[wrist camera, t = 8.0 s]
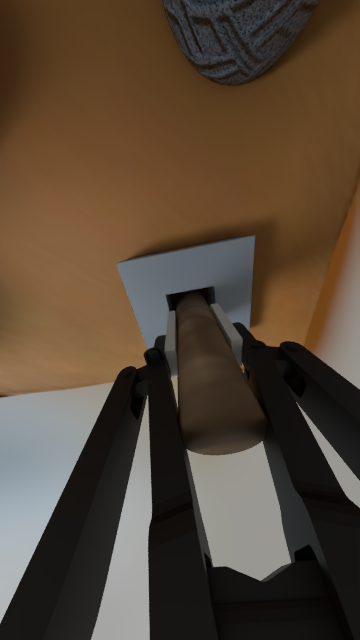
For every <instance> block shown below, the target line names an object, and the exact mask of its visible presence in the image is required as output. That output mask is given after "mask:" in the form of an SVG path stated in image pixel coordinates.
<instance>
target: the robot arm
mask: <svg viewBox="0 0 360 640" xmlns="http://www.w3.org/2000/svg"><path fill="white" fill-rule="evenodd" d="M211 312H212V314H213V316H214V318H215V319H216V321H217V323H218V325H219V327H220V329H221V331H222V333H223V335H224V337H225V339H226V341H227V342H228V344H229V346H230V348H231V350H232V352H233V354H234V356H235V358H236V360H237V362H238V364H239V366H240V367H242V363H243V365H244V375H245V377H246V379H247V381H248V383H249V385H250V387H251V389H252V390H253V392H254V394H255V396H256V398H257V400H258V402H259V404H260V406H261V408H262V410H263V412H264V413H265V415H266V417H267V419H268V423H267V428H266V433H265V437H264V440H263V444H264V448H265V452H266V455H267V459H268V463H269V466H270V470H271V474H272V478H273V481H274V486H275V489H276V493H277V496H278V501H279V505H280V509H281V517H282V524H283V530H284V534H285V539H286V543H287V547H288V551H289V554H290V558H291V563H290V564H287V565H284V566H281V567H280V568H279V569H277V570H276V571H274V572H273V573H271V574H270V575H269V576H267V577H266V578H264V579H263V580H262V581H259V580H257V579H255V578H252V577H250V576H247V575H245V574H243V573H240V572H238V571H236V570H233V569H231V568H229V567H213V564H212V559H211V555H210V550H209V546H208V541H207V537H206V533H205V529H204V525H203V521H202V517H201V513H200V508H199V504H198V499H197V495H196V490H195V485H194V481H193V476H192V472H191V467H190V462H189V458H188V453H187V449H186V447H185V444H184V442H183V439H182V436H181V433H180V429H179V421H178V407H177V403H176V398H175V394H174V389H173V385H172V381H171V375H172V378H174V377H178V370H177V318H176V313H175V311H170V312H168V319H167V330H166V335H161V336H158V337H157V338H156V339H155V344H154V347H152V348H150V349H148V350H147V351H146V352H145V353H144V358H145V360H146V363H147V365H145V366H143V367H141V368H139V369H136V368H135V367H133V366H129V367H126V368H124V369H123V370H122V371H120V373H119V374H118V376H117V378H116V380H115V382H114V385H113V387H112V389H111V391H110V393H109V395H108V397H107V399H106V402H105V404H104V406H103V408H102V410H101V412H100V415H99V416H98V418H97V421H96V423H95V425H94V427H93V429H92V431H91V433H90V435H89V437H88V440H87V442H86V444H85V446H84V448H83V450H82V452H81V455H80V456H79V459H78V461H77V463H76V465H75V467H74V469H73V471H72V473H71V475H70V478H69V480H68V482H67V484H66V486H65V488H64V490H63V492H62V495H61V497H60V499H59V501H58V503H57V505H56V507H55V509H54V512H53V513H52V516H51V518H50V520H49V522H48V524H47V526H46V529H45V530H44V533H43V535H42V537H41V539H40V541H39V543H38V545H37V547H36V549H35V552H34V554H33V556H32V558H31V560H30V562H29V565H28V567H27V568H26V571H25V573H24V575H23V577H22V579H21V581H20V583H19V585H18V587H17V590H16V592H15V594H14V596H13V598H12V600H11V602H10V604H9V606H8V609H7V611H6V613H5V615H4V617H3V619H2V621H1V623H0V640H91V637H92V634H93V630H94V627H95V624H96V620H97V617H98V613H99V608H100V604H101V600H102V596H103V592H104V588H105V584H106V580H107V575H108V571H109V566H110V562H111V557H112V553H113V548H114V543H115V539H116V535H117V530H118V525H119V521H120V516H121V512H122V507H123V503H124V498H125V493H126V489H127V485H128V480H129V476H130V471H131V467H132V462H133V458H134V453H135V449H136V444H137V440H138V435H139V431H140V426H141V422H142V417H143V413H144V408H145V404H146V399H147V395H148V402H149V430H150V458H151V484H152V485H151V486H152V519H151V523H150V526H149V539H148V558H149V560H148V562H149V614H150V615H149V617H150V640H360V508H359V507H358V506H357V505H355V504H354V503H353V502H352V501H351V500H349V499H348V497H347V496H346V495H345V493H344V491H343V490H342V488H341V486H340V484H339V483H338V481H337V479H336V477H335V475H334V473H333V471H332V469H331V467H330V465H329V464H328V462H327V460H326V458H325V456H324V454H323V453H322V450H321V448H320V447H319V445H318V443H317V441H316V439H315V437H314V435H313V433H312V431H311V429H310V428H309V426H308V424H307V422H306V420H305V418H304V416H303V414H302V412H301V411H300V409H299V407H298V405H297V403H298V404H299V406H300V407H301V408H302V410H303V411H304V412H305V413H306V415H307V416H308V417H309V418H310V419H311V421H312V422H313V423H314V424H315V426H316V427H317V428H318V429H319V430H320V432H321V433H322V434H323V436H324V437H325V438H326V439H327V441H328V442H329V443H330V444H331V446H332V447H333V448H334V449H335V451H336V452H337V453H338V454H339V456H340V457H341V458H342V459H343V461H344V462H345V463H346V464H347V465H348V467H349V468H350V469H351V470H352V472H353V473H354V474H355V475H356V477H357V478H358V479H359V480H360V390H359V389H358V388H357V387H355V386H354V385H353V384H352V383H350V382H349V381H348V380H346V379H345V378H344V377H342V376H341V375H340V374H338V373H337V372H336V371H335V370H333V369H332V368H331V367H329V366H328V365H327V364H326V363H324V362H323V361H322V360H320V359H319V358H318V357H316V356H315V355H314V354H312V353H311V352H310V351H309V350H307V349H306V348H305V347H303V346H302V345H300V344H298V343H295V342H290V341H286V342H282V343H281V344H280V347H271V346H266V345H265V343H263V342H261V341H258V340H256V339H255V338H254V337H253V335H252V334H251V333H250V332H249V331H248V329H247V328H246V327H245V326H244V325H243V324H242V323H240V322H236V323H231V322H230V320H229V319H228V317H227V316H226V314H225V313H224V311H223V310H222V309H221V307H220V306H219V304H218V303H216V304H211ZM296 402H297V403H296Z"/></svg>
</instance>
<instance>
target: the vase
mask: <svg viewBox="0 0 360 640" xmlns="http://www.w3.org/2000/svg"><path fill="white" fill-rule="evenodd" d="M162 1H163V5H164V8H165V12H166V15H167V18H168V21H169V24H170V26H171V29H172V32H173V34H174V36H175V38H176V40H177V42H178V44H179V46H180V48H181V50H182V51H183V53H184V54H185V56H186V57H187V59H188V60H189V61H190V63H191V64H192V65H193V66H194V67H195V68H196V69H197V70H198V71H199V72H200V73H201V74H202V75H204V76H205V77H206V78H208V79H210V80H212V81H214V82H216V83H219V84H224V85H238V84H243V83H246V82H249V81H251V80H253V79H255V78H257V77H258V76H260V75H261V74H263V73H264V72H266V71H267V70H268V69H269V68H270V67H271V66H272V65H273V64H274V63H275V62H276V61H277V60H278V59H279V58H280V57H281V56H282V55H283V54H284V53H285V52H286V51H287V50H288V49H289V48H290V46H291V45H292V44H293V43H294V42H295V40H296V39H297V37H298V36H299V35H300V33H301V32H302V30H303V29H304V27H305V26H306V24H307V22H308V21H309V19H310V17H311V16H312V14H313V12H314V11H315V9H316V7H317V6H318V4H319V2H320V1H321V0H162Z"/></svg>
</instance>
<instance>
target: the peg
mask: <svg viewBox="0 0 360 640" xmlns="http://www.w3.org/2000/svg"><path fill="white" fill-rule="evenodd" d="M176 317H177V370H178V421H179V429H180V433H181V436H182V439H183V442H184V444H185V447H186V449H188V450H190V451H192V452H195V453H199V454H204V455H226V454H232V453H237V452H240V451H244V450H246V449H249V448H251V447H253V446H255V445H257V444H259V443H260V442H261V441H263V440H264V437H265V433H266V428H267V423H268V419H267V417H266V415H265V413H264V412H263V410H262V408H261V406H260V404H259V402H258V400H257V398H256V396H255V394H254V392H253V390H252V389H251V387H250V385H249V383H248V381H247V379H246V377H245V375H244V373H243V371H242V369H241V367H240V366H239V364H238V362H237V360H236V358H235V356H234V354H233V352H232V350H231V348H230V346H229V344H228V342H227V341H226V339H225V337H224V335H223V333H222V331H221V329H220V327H219V325H218V323H217V321H216V319H215V318H214V316H213V314H212V312H211V310H210V308H209V306H208V304H207V302H206V300H205V298H204V297H203V295H202V294H200V293H199V292H196V291H187V292H185V293H183V294H181V295H180V296H179V298H178V300H177V303H176Z"/></svg>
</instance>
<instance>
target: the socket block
mask: <svg viewBox="0 0 360 640" xmlns="http://www.w3.org/2000/svg"><path fill="white" fill-rule="evenodd" d="M254 246H255V235H253V236H242V237H235V238H230V239H225V240H220V241H215V242H210V243H205V244H200V245H195V246H190V247H186V248H181V249H176V250H171V251H166V252H161V253H156V254H151V255H146V256H141V257H136V258H131V259H127V260H124V261H121V262H118V263H116V265H117V267H118V270H119V273H120V276H121V278H122V281H123V284H124V286H125V289H126V292H127V295H128V297H129V300H130V303H131V305H132V308H133V311H134V314H135V316H136V319H137V322H138V324H139V327H140V330H141V333H142V335H143V338H144V341H145V343H146V346H147V349H150V348H152V347H154V344H155V339H156V338H157V337H158V336H161V335H166V330H167V319H168V312H170V311H173V309H172V305H171V300H170V296H169V294H173V293H178V292H184V291H189V290H195V289H200V288H206V287H208V290H209V302H210V310H211V304H216V303H218V304H219V306H220V307H221V309H222V310H223V311H224V313H225V314H226V316H227V317H228V319H229V320H230V322H231V323H236V322H240V323H242V324H243V325H244V326H245V327H246V328H247V329H248V331H249V329H250V312H251V295H252V279H253V262H254Z"/></svg>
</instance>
